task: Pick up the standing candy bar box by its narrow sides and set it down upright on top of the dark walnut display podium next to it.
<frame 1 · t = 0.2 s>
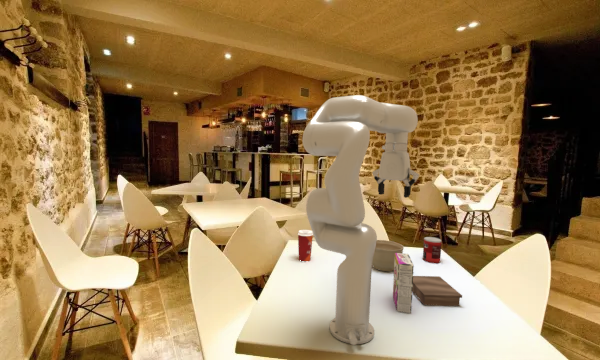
hand: (393, 195, 107), 36 cm above the table, tool pointing down, fingers open, 9 cm apart
paper cup: (304, 260, 142), on the table
candy bar box: (401, 305, 101), on the table
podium: (431, 295, 108), on the table
planter bowl: (383, 268, 135), on the table
canned food: (431, 261, 146), on the table
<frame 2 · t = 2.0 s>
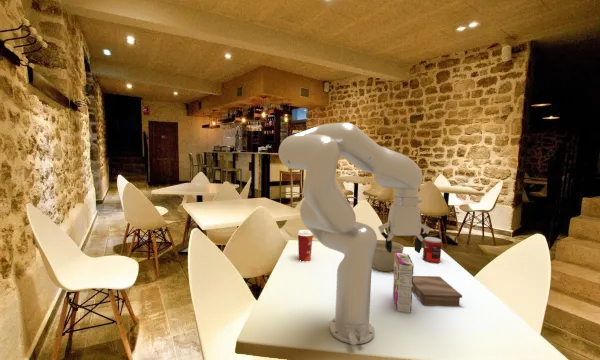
hand: (403, 251, 100), 18 cm above the table, tool pointing down, fingers open, 9 cm apart
nothing on the table moved.
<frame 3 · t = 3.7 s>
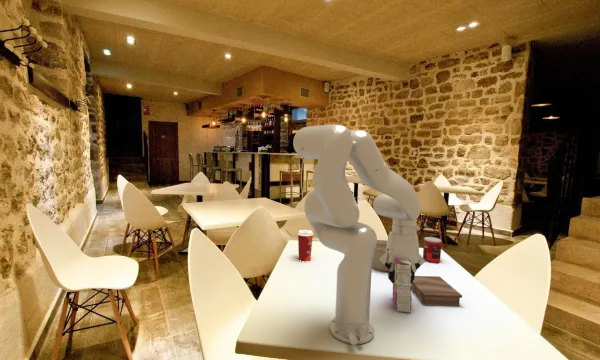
hand: (401, 281, 100), 8 cm above the table, tool pointing down, fingers closed on candy bar box, 5 cm apart
candy bar box: (401, 305, 101), on the table, touching gripper
everything else where it was.
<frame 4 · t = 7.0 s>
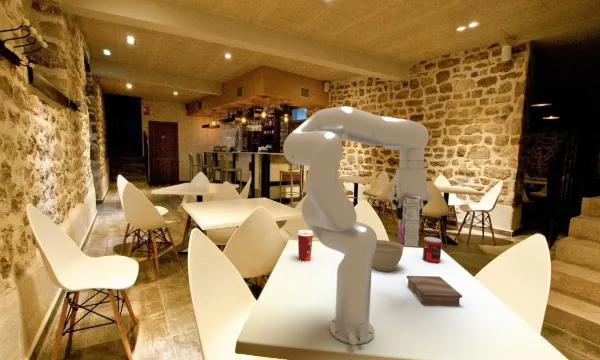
hand: (408, 218, 100), 30 cm above the table, tool pointing down, fingers closed on candy bar box, 5 cm apart
candy bar box: (407, 243, 100), point 21 cm above the table, touching gripper
everything else where it was.
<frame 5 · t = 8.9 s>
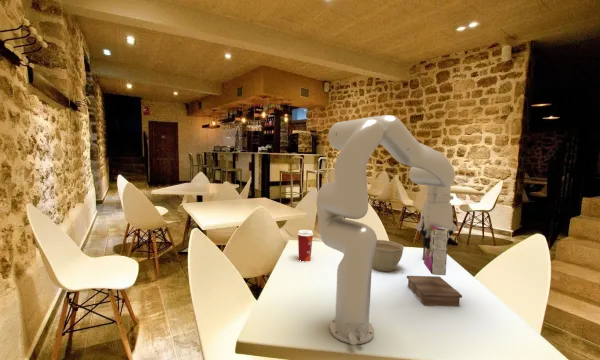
hand: (435, 247, 107), 18 cm above the table, tool pointing down, fingers closed on candy bar box, 5 cm apart
candy bar box: (433, 269, 107), point 10 cm above the table, touching gripper
everything else where it was.
when the fingers open (13 cm above the table, at t = 10.4 s): candy bar box stays where it is, resting on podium.
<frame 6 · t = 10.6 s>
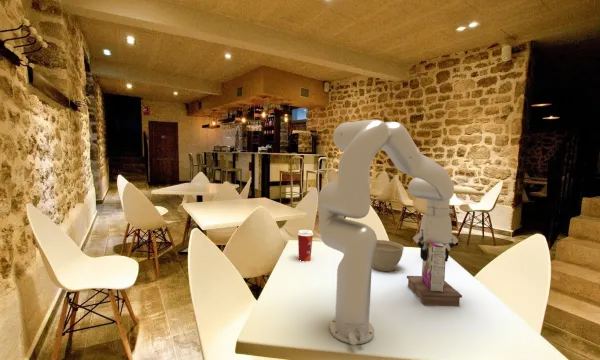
hand: (434, 259, 107), 14 cm above the table, tool pointing down, fingers open, 7 cm apart
candy bar box: (431, 285, 108), point 4 cm above the table, touching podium
everything else where it was.
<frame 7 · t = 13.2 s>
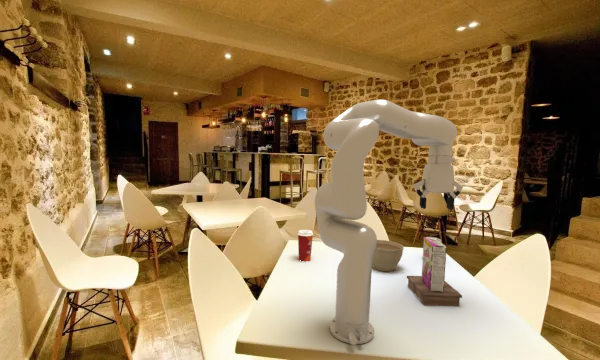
hand: (436, 208, 106), 32 cm above the table, tool pointing down, fingers open, 9 cm apart
nothing on the table moved.
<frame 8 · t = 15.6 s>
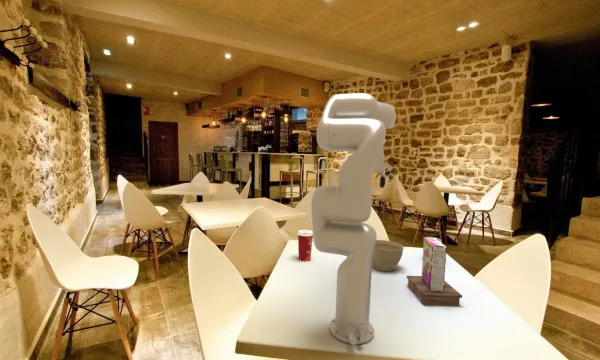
hand: (369, 187, 116), 38 cm above the table, tool pointing down, fingers open, 9 cm apart
nothing on the table moved.
at the end: candy bar box inside the target area on the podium (0.5 cm from its centre), point 3.8 cm above the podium's base; candy bar box tilted 0°; the gripper is holding nothing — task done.
